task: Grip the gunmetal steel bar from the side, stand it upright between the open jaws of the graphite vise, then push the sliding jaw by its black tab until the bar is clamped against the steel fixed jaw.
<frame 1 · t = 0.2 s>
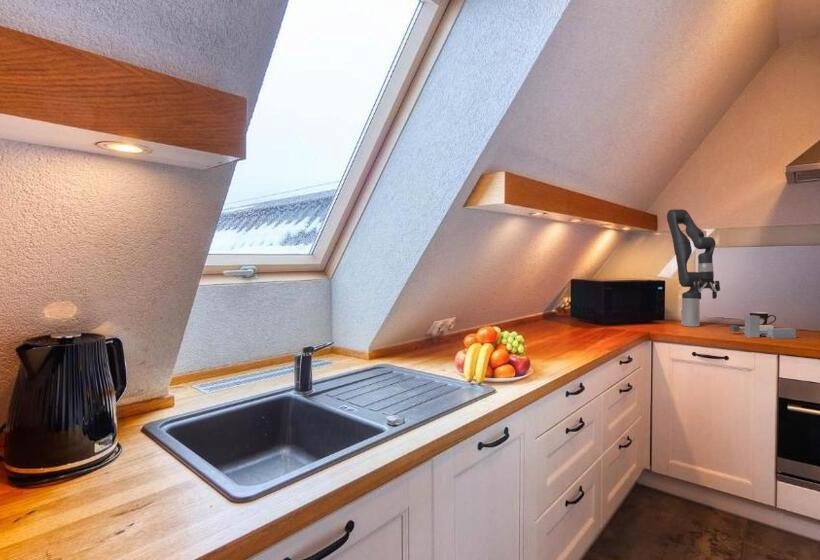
hand: (706, 298, 267), 18 cm above the worktop, tool pointing down, fingers open, 8 cm apart
vise: (768, 335, 241), on the worktop
vise jaw: (751, 328, 247), point 3 cm above the worktop, slide at 0.0 cm
coffee mug: (761, 330, 260), on the worktop
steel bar: (752, 337, 236), on the worktop
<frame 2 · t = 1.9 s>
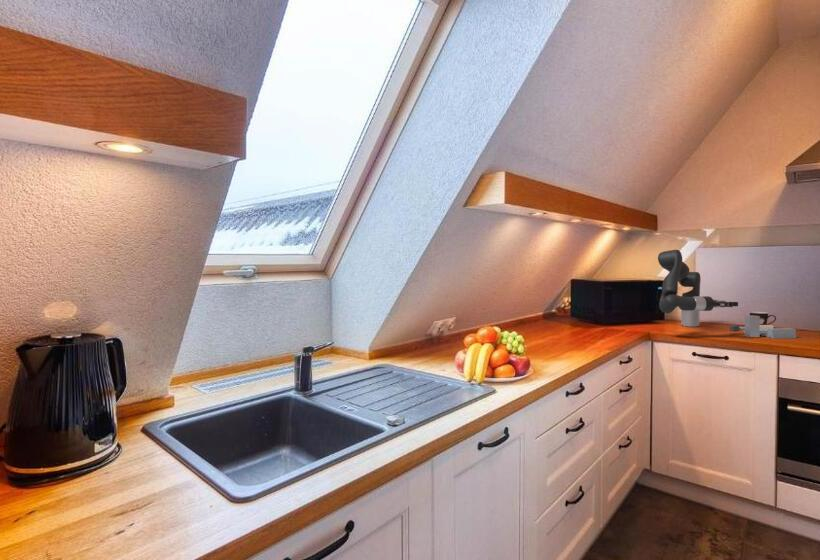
hand: (731, 303, 235), 18 cm above the worktop, tool horizontal, fingers open, 8 cm apart
nothing on the worktop moved.
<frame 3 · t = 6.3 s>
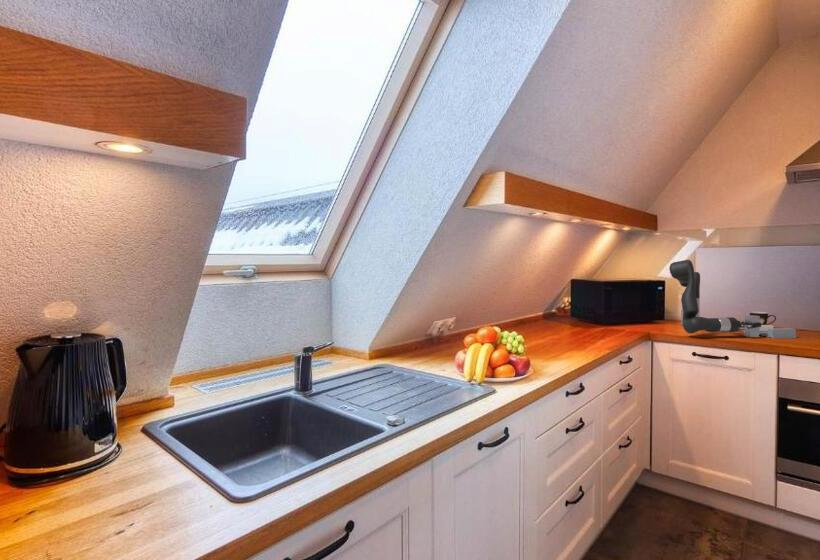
hand: (757, 324, 236), 7 cm above the worktop, tool horizontal, fingers closed on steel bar, 3 cm apart
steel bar: (752, 337, 236), on the worktop, touching gripper
everything else where it was.
when the fingers open (9 cm above the worktop, at t = 10.6 s): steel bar drops 1 cm, resting on vise.
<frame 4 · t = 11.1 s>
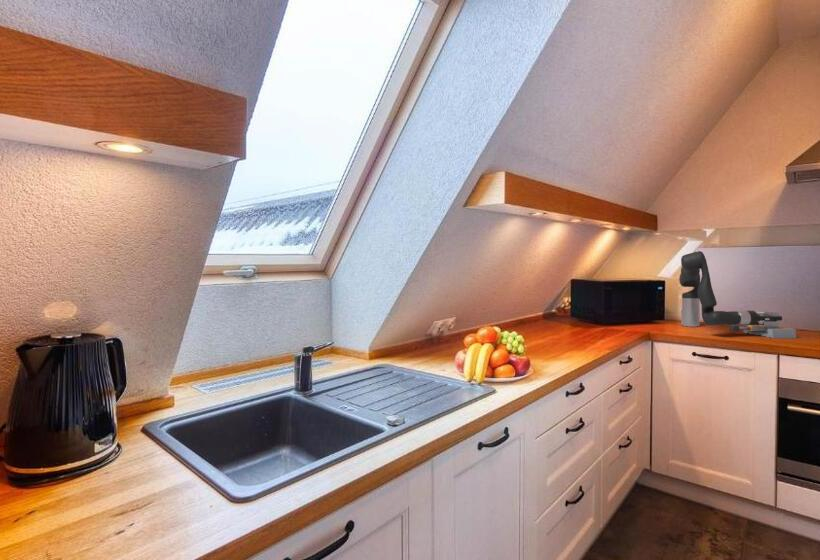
hand: (774, 317, 240), 10 cm above the worktop, tool horizontal, fingers open, 8 cm apart
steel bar: (771, 332, 240), point 1 cm above the worktop, touching vise
everything else where it was.
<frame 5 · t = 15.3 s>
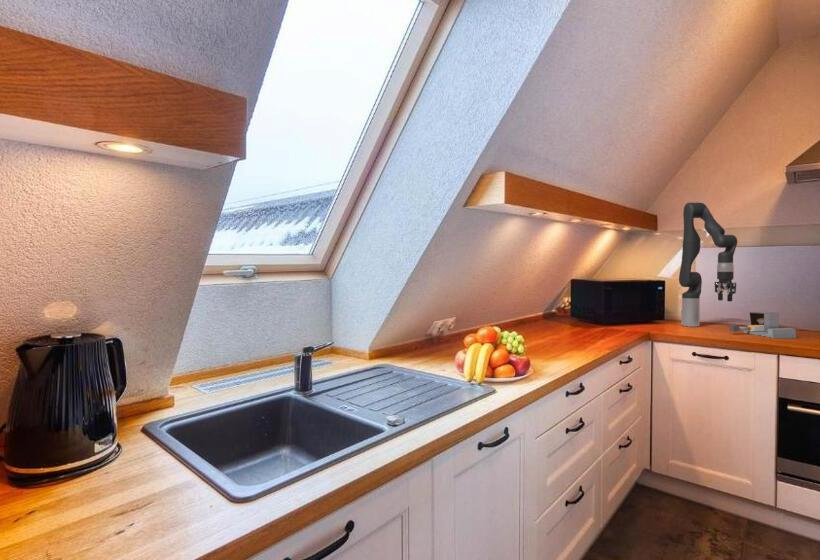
hand: (724, 300, 253), 18 cm above the worktop, tool pointing down, fingers open, 6 cm apart
nothing on the worktop moved.
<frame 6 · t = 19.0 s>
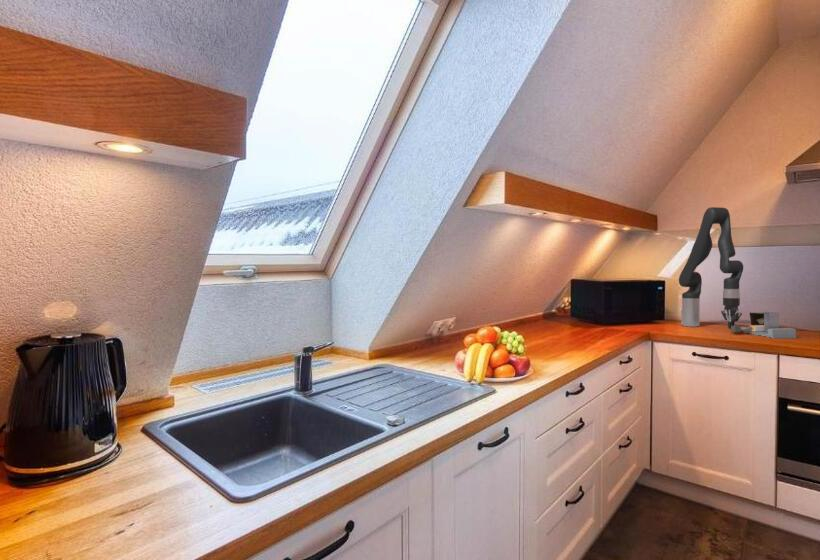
hand: (731, 328, 249), 3 cm above the worktop, tool pointing down, fingers closed
vise jaw: (753, 328, 246), point 3 cm above the worktop, slide at 1.0 cm, touching gripper
everything else where it was.
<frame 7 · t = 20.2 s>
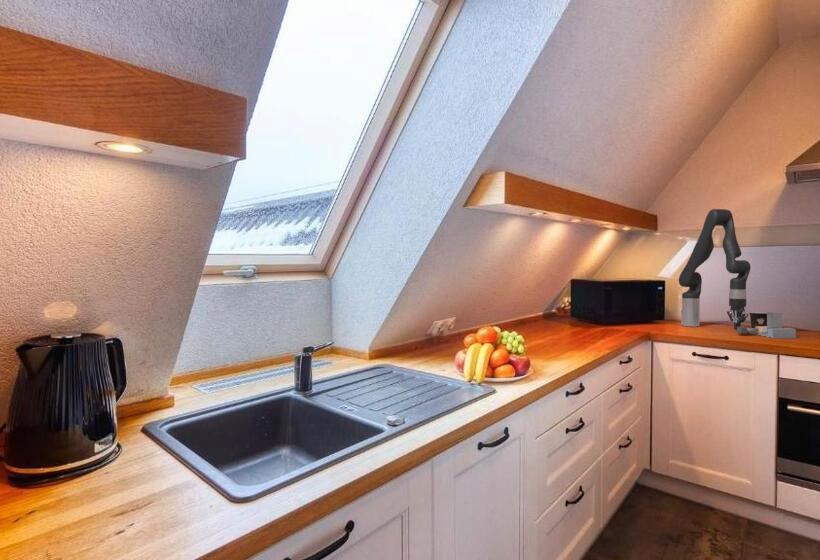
hand: (737, 329, 245), 3 cm above the worktop, tool pointing down, fingers closed
vise jaw: (759, 329, 241), point 3 cm above the worktop, slide at 5.4 cm, touching gripper
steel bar: (774, 333, 238), point 1 cm above the worktop, touching vise
everything else where it was.
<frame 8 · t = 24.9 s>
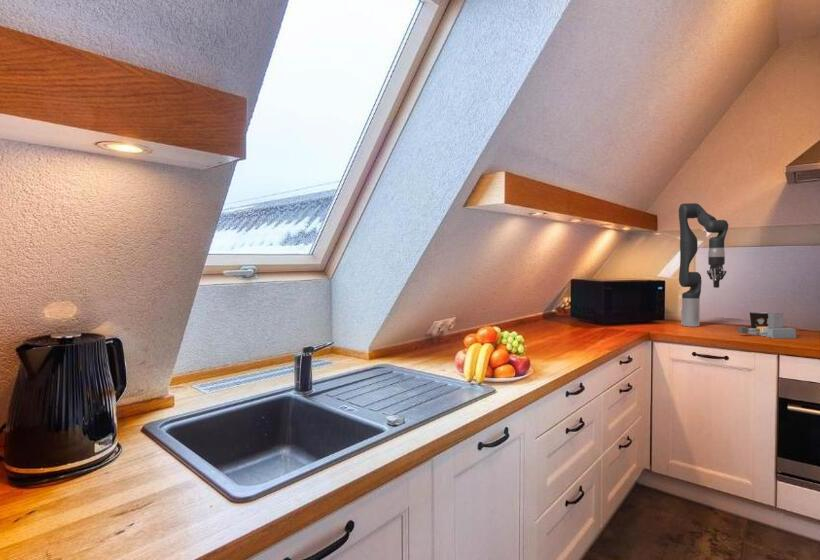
hand: (716, 287, 252), 25 cm above the worktop, tool pointing down, fingers closed
vise jaw: (760, 329, 240), point 3 cm above the worktop, slide at 6.2 cm
everything else where it was.
at the end: vise jaw slide at 6.2 cm; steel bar 0.2 cm from the target spot on the vise, point 1.5 cm above the vise's base; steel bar tilted 0° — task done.
